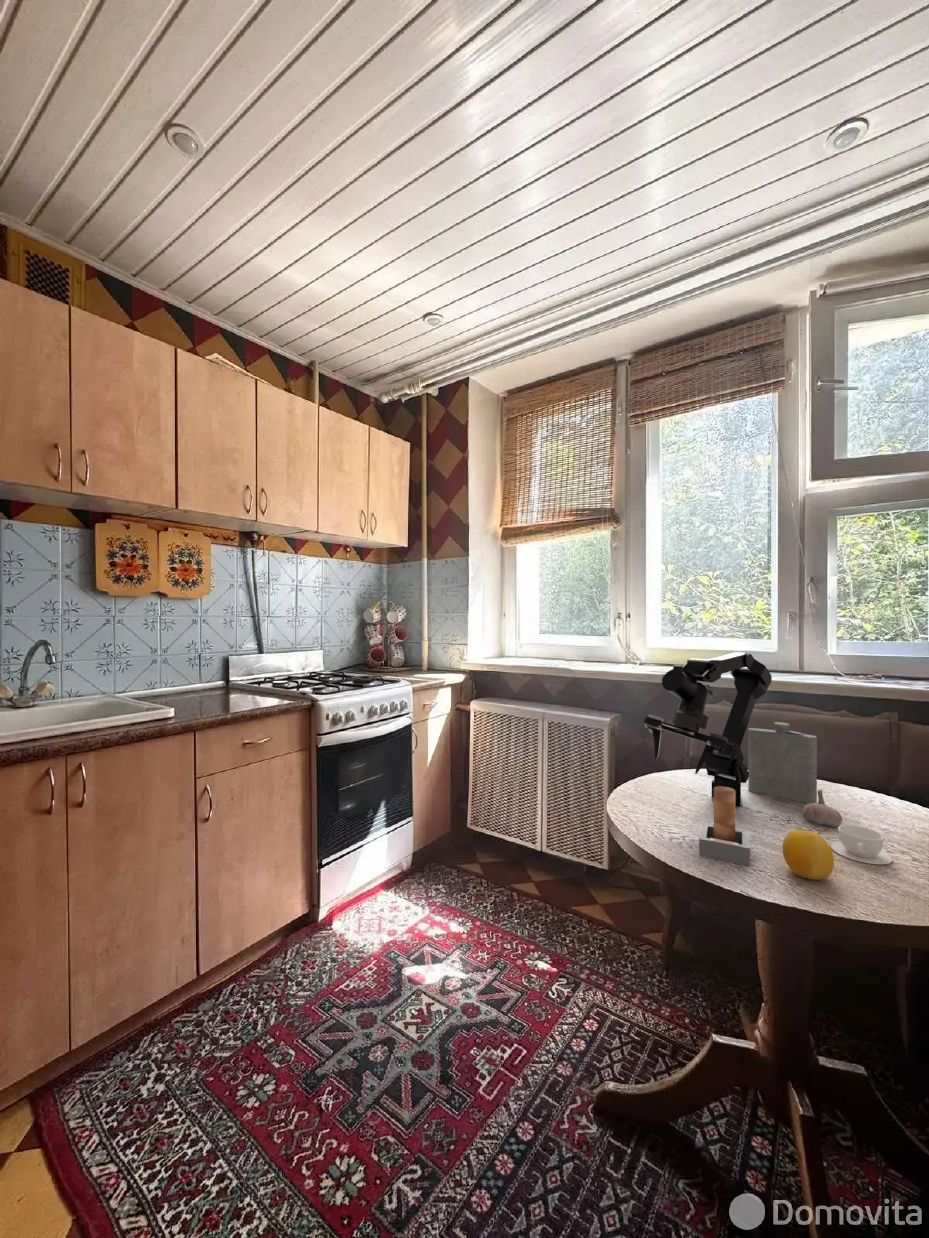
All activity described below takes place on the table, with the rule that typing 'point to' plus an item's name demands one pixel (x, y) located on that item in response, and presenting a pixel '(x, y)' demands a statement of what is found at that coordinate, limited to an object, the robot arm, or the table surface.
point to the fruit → (808, 854)
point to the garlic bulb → (821, 813)
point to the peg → (724, 813)
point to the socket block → (724, 846)
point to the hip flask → (782, 763)
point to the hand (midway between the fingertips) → (675, 766)
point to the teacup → (861, 845)
